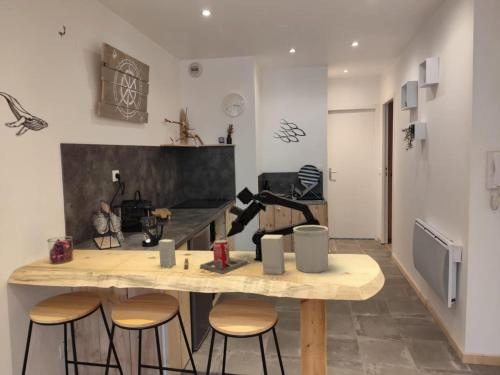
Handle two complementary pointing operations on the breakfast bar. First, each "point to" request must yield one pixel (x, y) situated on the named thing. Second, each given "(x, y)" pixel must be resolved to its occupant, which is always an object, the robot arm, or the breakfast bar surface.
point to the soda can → (221, 253)
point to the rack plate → (234, 265)
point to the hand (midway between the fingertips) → (229, 234)
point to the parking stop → (186, 263)
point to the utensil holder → (311, 248)
